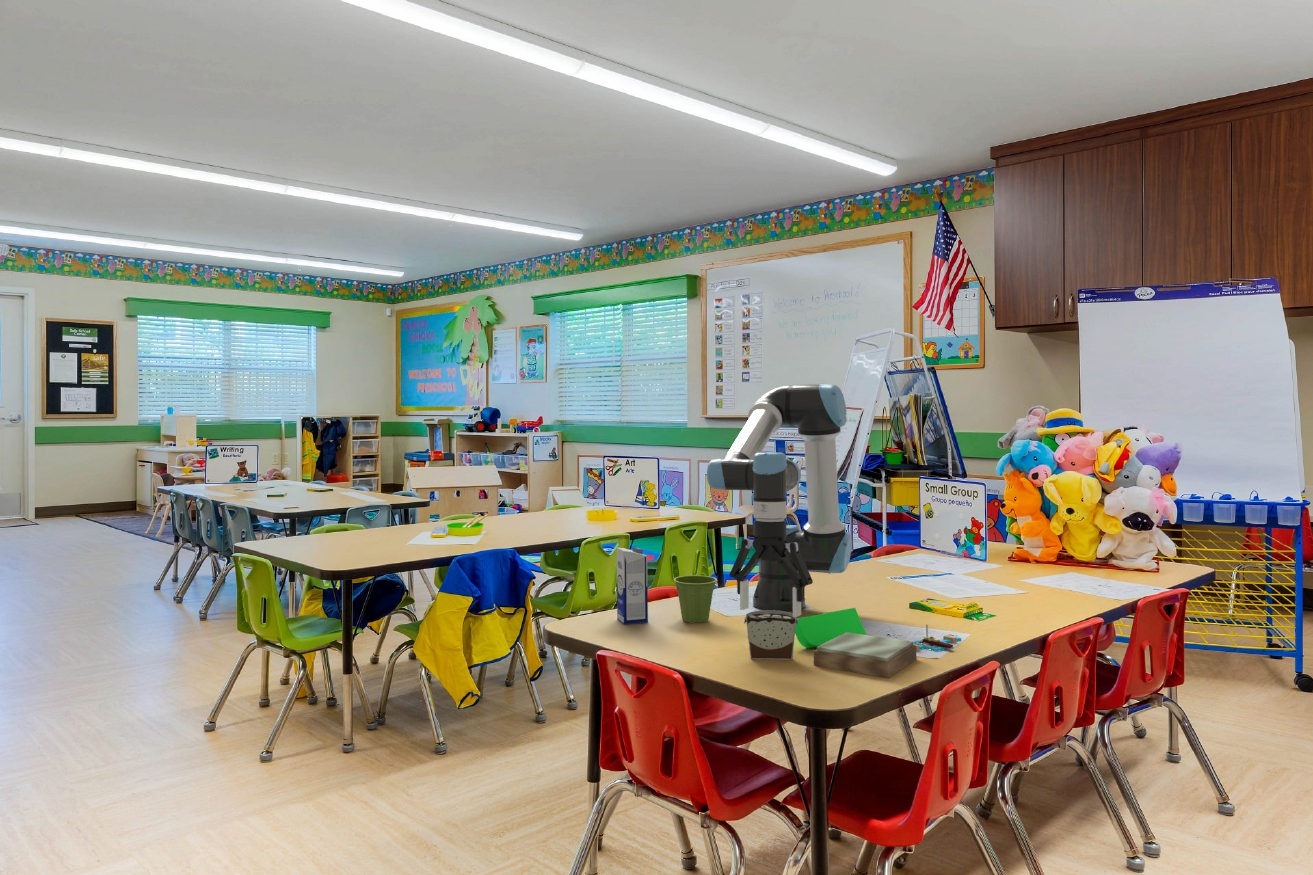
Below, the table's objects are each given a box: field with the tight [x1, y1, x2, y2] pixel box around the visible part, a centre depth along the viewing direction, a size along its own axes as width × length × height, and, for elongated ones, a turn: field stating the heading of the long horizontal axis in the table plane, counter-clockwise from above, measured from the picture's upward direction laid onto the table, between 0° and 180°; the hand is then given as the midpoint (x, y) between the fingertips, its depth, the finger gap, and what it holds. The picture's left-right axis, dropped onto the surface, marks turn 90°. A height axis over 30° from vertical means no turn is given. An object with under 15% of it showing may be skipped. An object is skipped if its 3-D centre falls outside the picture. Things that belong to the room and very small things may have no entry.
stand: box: [813, 632, 917, 679], centre depth 191 cm, size 17×17×4 cm
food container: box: [743, 609, 799, 661], centre depth 197 cm, size 12×6×10 cm, turn 84°
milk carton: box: [616, 546, 649, 625], centre depth 234 cm, size 7×7×20 cm
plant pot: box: [673, 574, 718, 624], centre depth 233 cm, size 12×12×11 cm
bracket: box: [795, 607, 867, 649], centre depth 211 cm, size 20×10×7 cm, turn 124°
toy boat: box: [911, 623, 962, 653], centre depth 204 cm, size 20×5×9 cm
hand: (770, 612), depth 197 cm, fingers open, 13 cm apart
